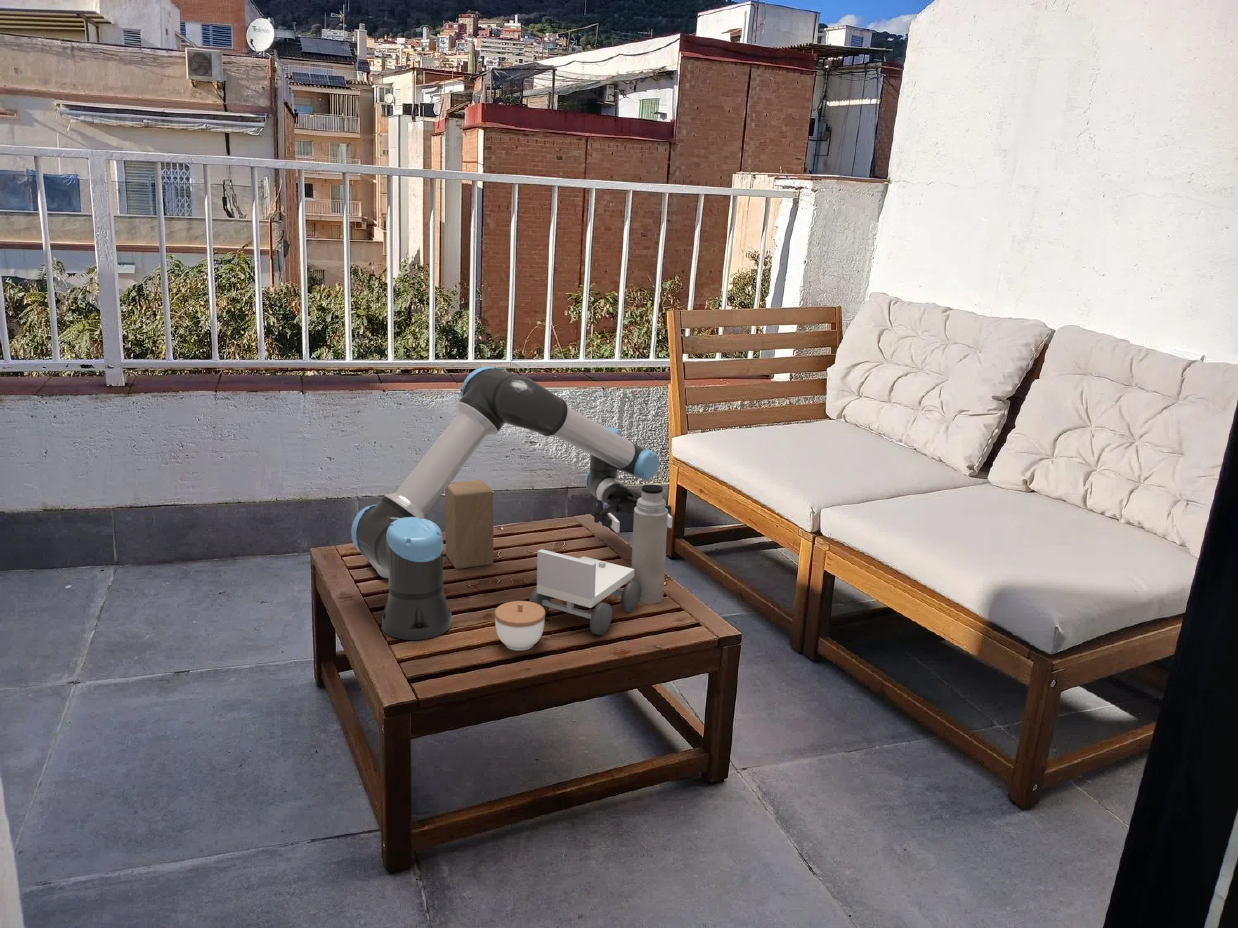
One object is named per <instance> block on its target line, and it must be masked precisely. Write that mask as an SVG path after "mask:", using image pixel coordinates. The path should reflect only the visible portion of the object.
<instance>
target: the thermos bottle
mask: <svg viewBox="0 0 1238 928" xmlns="http://www.w3.org/2000/svg"><path fill="white" fill-rule="evenodd" d="M663 491H664V488H663V487H662V486H661V485H658V484H652V483H651V484H644V485H642V486H641V494H640V495H641V497H639V498H637V499H638V501H637V506H636V507H635V508H634V513H633V529H632V549H631V566H630V568H632V569H634V578H632V579H631V580H630V581H634V582H638V583H640V585H641V597H640V601H639V603H638V604H645V605H651V604H658V603H661V602H662V601H663V600H664V592H665V591H664V588H665V573H666V572H665V570H666V556H667V553H666V551H667V538H668V536H667V534H668V527H667V520H668V510H667V508H665V506H666V505H667V503H666V500H665V499H664V498H663Z"/></svg>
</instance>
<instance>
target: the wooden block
mask: <svg viewBox="0 0 1238 928" xmlns="http://www.w3.org/2000/svg"><path fill="white" fill-rule="evenodd" d="M444 508H445V509H444V511H445V512H444V518H445V520H444V521H445V522H444V523H445V526H444V528H445V556H446V557H447V559H448V560H449V561H450V563H451V565H453V567H454V569H455V570H460V569H467V568H473V567H474V568H475V567H481V566H487V565H488V566H489V565H493V564H494V491H493V489H491V487H490V486H489V485H488V484H487V483H486V482H485V481H484V480H483V479H474V480H466V481H465V480H463V481H456V482H455V481H454V482H453V481H452V482H451V483H450V484H449V485H448V487H447V488H446V489H445V491H444Z"/></svg>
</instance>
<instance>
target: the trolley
mask: <svg viewBox="0 0 1238 928" xmlns="http://www.w3.org/2000/svg"><path fill="white" fill-rule="evenodd" d="M536 559H537V561H536V563H537V564H536V571H537V572H536V586H535V588H534V589H533V590H532V593H531V594H530V597H529V601H528V602H533V603H536V604H539V605H541V606H542V607H543V608H544V609H545V615H546V614H547V612H548V610H549V609H550V608H551V609H554V610H557V611H561V612H564V613H565V612H566V613H568V614H572V615H576V616H578V617H583V618H586V619H589V629H590V632H591V633H592V634H595V635H598V636H603V635H604V634H605V633H606V632H607V631H608V629H609V628H610V626H611V621H612V617H613V608H612V606H611V605H610V604H609V603H606V602H602V601H603V600H604V599H605V598H607V597H608V596H610V595H614V596H618V597H621V598H620V606H621V609H622V610H623V611H626V612H630V613H632V612H634V611H635V610H636V609H637V607H638V605H639V604H640V603H639V601H640V597H641V585H640V583H638V582H634V581H631V579H632V578H634V569H632V568H631V567H627V566H623V565H619V564H616V563H612V562H608V561H604V560H600V559H595V558H592V557H588V556H584V555H582V556H581V557H579V558H578V557H574V556H570V555H566V554H562V553H557V552H555V551H550V550H546V549H542V548H541V549H539V550H537V557H536ZM624 585H625V586H624ZM623 586H624V587H623ZM621 587H623V590H620V588H621ZM552 598H554V599H557V600H561V601H564V602H566V605H565V604H563V603H559V602H555V601H552ZM575 605H578V606H583V607H585V608H590V609H591V608H593V607H594V608H593V611H592V612H590V611H586V610H583V609H581V608H580V609H579V608H577V607H575Z"/></svg>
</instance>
